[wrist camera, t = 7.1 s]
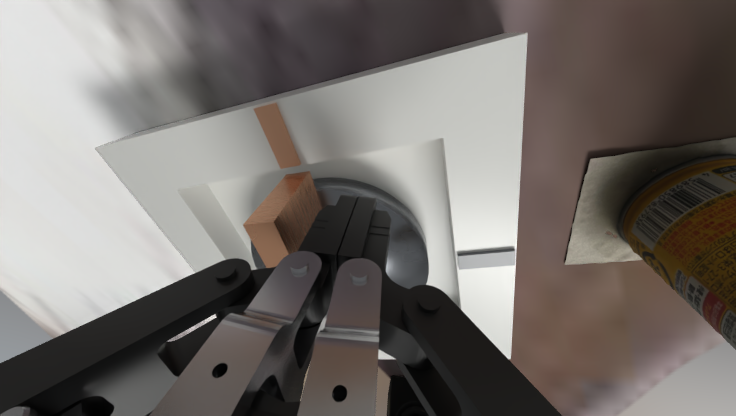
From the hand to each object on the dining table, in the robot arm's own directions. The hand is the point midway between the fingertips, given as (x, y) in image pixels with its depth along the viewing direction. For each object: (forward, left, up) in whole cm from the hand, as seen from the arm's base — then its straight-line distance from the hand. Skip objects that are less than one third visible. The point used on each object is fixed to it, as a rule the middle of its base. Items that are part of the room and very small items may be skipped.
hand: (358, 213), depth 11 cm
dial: (-3, -5, -4) cm, 7 cm away
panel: (-3, -5, -4) cm, 7 cm away
